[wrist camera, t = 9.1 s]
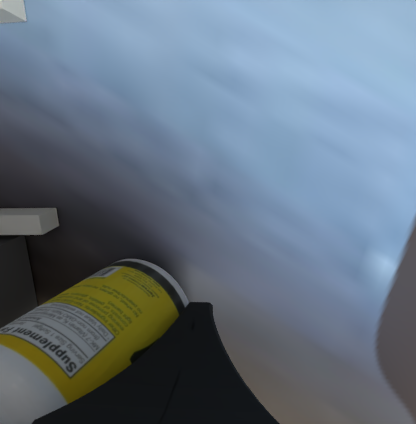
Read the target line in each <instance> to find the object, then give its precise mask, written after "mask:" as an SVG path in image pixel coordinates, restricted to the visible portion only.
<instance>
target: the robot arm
mask: <svg viewBox="0 0 416 424" xmlns="http://www.w3.org/2000/svg"><path fill="white" fill-rule="evenodd" d="M32 424H279V423H278V422H277V421H276V420H275V419H274V418H273V416H272V415H271V414H270V413H269V412H268V411H267V410H266V409H265V408H264V406H263V405H262V404H261V403H260V402H259V401H258V399H257V398H256V397H255V395H254V394H253V393H252V392H251V390H250V389H249V388H248V386H247V385H246V384H245V382H244V381H243V379H242V378H241V376H240V375H239V373H238V372H237V370H236V369H235V367H234V365H233V363H232V362H231V360H230V358H229V356H228V354H227V352H226V350H225V348H224V346H223V344H222V341H221V339H220V336H219V334H218V331H217V328H216V325H215V322H214V318H213V305H212V304H211V303H208V302H190V303H189V304H188V305H187V306H186V307H185V309H184V310H183V311H182V313H181V314H180V315H179V317H178V318H177V319H176V320H175V322H174V323H173V324H172V325H171V326H170V327H169V328H168V330H167V331H166V332H165V333H164V334H163V335H162V336H161V337H160V338H159V339H158V340H157V341H156V342H155V343H154V344H153V345H152V346H151V347H150V348H149V349H148V350H147V351H146V352H145V353H144V354H143V355H142V356H141V357H139V358H138V359H137V360H136V361H135V362H133V363H132V364H131V365H130V366H128V367H127V368H126V369H124V370H123V371H121V372H120V373H118V374H117V375H116V376H114V377H113V378H111V379H110V380H109V381H107V382H106V383H104V384H102V385H101V386H99V387H97V388H96V389H94V390H93V391H91V392H89V393H87V394H86V395H84V396H82V397H80V398H78V399H77V400H75V401H73V402H71V403H69V404H67V405H65V406H63V407H61V408H59V409H57V410H55V411H52V412H50V413H48V414H46V415H44V416H42V417H40V418H38V419H35V420H34V421H33V422H32Z"/></svg>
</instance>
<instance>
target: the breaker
mask: <svg viewBox="0 0 416 424" xmlns="http://www.w3.org/2000/svg"><path fill="white" fill-rule="evenodd" d="M36 307H38V304H37V299H36V293H35V288H34V283H33V278H32V272H31V267H30V262H29V256H28V251H27V246H26V241H25V235H0V328H2V327H4V326H6V325H7V324H9V323H11V322H13V321H14V320H16V319H18V318H19V317H21V316H23V315H25V314H26V313H28V312H30V311H31V310H33V309H35V308H36Z"/></svg>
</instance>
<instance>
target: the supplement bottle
mask: <svg viewBox="0 0 416 424" xmlns="http://www.w3.org/2000/svg"><path fill="white" fill-rule="evenodd" d="M188 304H189V302H188V299H187V297H186V295H185V293H184V292H183V290H182V288H181V287H180V285H179V284H178V283H177V282H176V281H175V279H174V278H173V277H172V276H171V275H170V274H168V273H167V272H166V271H165V270H163V269H162V268H160V267H159V266H157V265H155V264H152V263H150V262H147V261H144V260H139V259H123V260H119V261H117V262H114V263H112V264H110V265H109V266H107V267H105V268H103V269H101V270H100V271H98V272H96V273H95V274H93V275H91V276H90V277H88V278H86V279H84V280H83V281H81V282H79V283H78V284H76V285H74V286H72V287H71V288H69V289H67V290H65V291H64V292H62V293H60V294H59V295H57V296H55V297H54V298H52V299H50V300H48V301H47V302H45V303H43V304H42V305H40V306H38V307H36V308H35V309H33V310H31V311H30V312H28V313H26V314H25V315H23V316H21V317H19V318H18V319H16V320H14V321H13V322H11V323H9V324H7V325H6V326H4V327H2V328H0V424H32V422H33V421H34V420H35V419H38V418H40V417H42V416H44V415H46V414H48V413H50V412H52V411H55V410H57V409H59V408H61V407H63V406H65V405H67V404H69V403H71V402H73V401H75V400H77V399H78V398H80V397H82V396H84V395H86V394H87V393H89V392H91V391H93V390H94V389H96V388H97V387H99V386H101V385H102V384H104V383H106V382H107V381H109V380H110V379H111V378H113V377H114V376H116V375H117V374H118V373H120V372H121V371H123V370H124V369H126V368H127V367H128V366H130V365H131V364H132V363H133V362H135V361H136V360H137V359H138V358H139V357H141V356H142V355H143V354H144V353H145V352H146V351H147V350H148V349H149V348H150V347H151V346H152V345H153V344H154V343H155V342H156V341H157V340H158V339H159V338H160V337H161V336H162V335H163V334H164V333H165V332H166V331H167V330H168V328H169V327H170V326H171V325H172V324H173V323H174V322H175V320H176V319H177V318H178V317H179V315H180V314H181V313H182V311H183V310H184V309H185V307H186V306H187V305H188Z"/></svg>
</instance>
